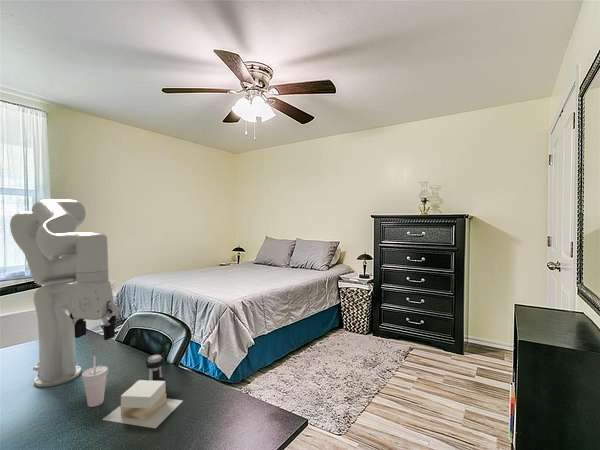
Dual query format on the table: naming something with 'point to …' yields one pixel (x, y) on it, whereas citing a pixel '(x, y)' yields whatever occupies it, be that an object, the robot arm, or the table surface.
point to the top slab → (143, 394)
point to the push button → (155, 367)
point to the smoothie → (95, 383)
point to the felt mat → (151, 423)
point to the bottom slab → (143, 410)
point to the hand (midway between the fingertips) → (94, 337)
